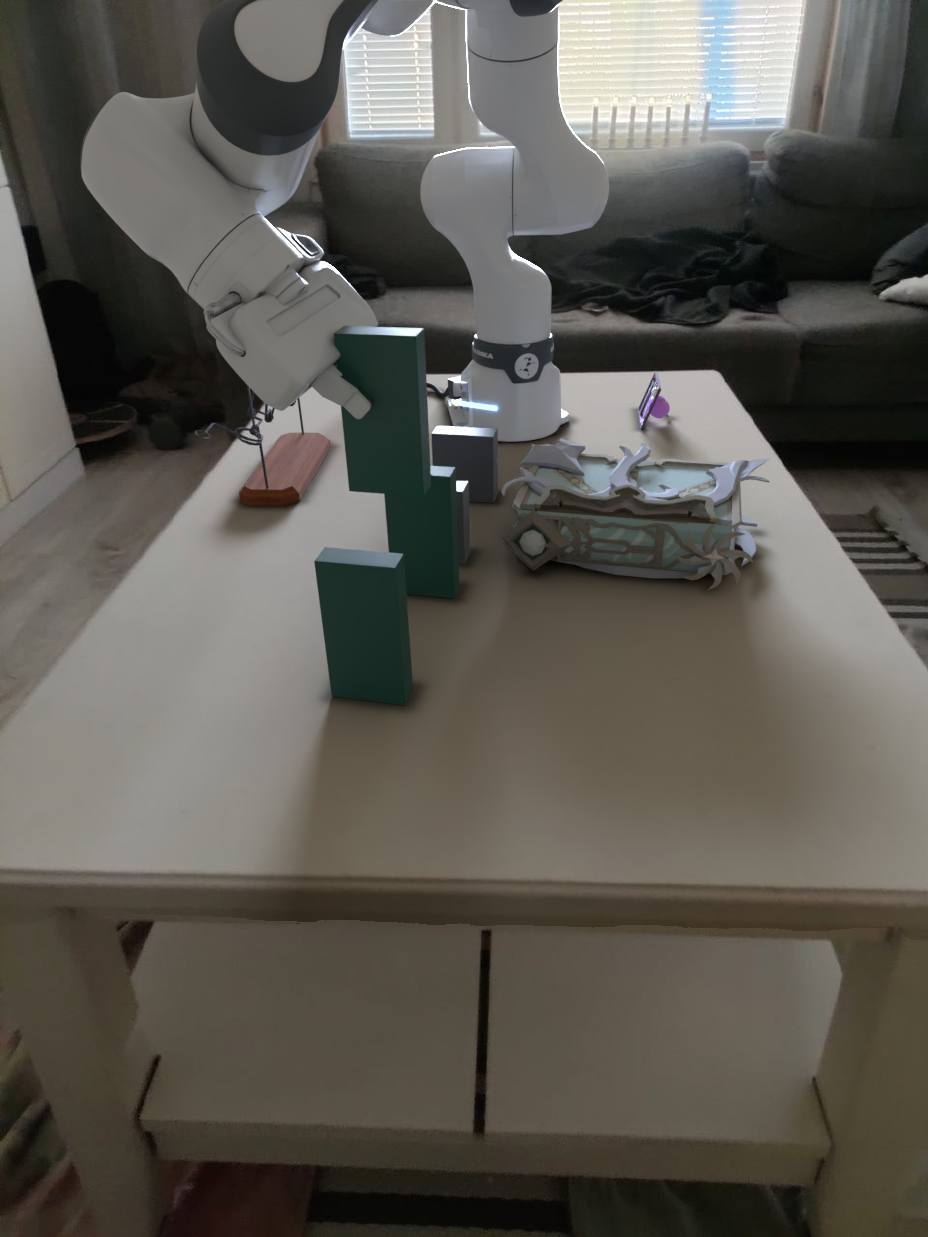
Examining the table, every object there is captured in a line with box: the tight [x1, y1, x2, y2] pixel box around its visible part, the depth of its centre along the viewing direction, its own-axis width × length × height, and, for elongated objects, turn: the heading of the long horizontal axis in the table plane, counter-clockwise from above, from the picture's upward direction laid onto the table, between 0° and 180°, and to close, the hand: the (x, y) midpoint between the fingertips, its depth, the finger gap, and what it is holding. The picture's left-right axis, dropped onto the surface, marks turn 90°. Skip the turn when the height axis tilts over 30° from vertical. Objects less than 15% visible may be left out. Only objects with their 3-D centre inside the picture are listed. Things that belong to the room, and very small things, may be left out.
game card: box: [637, 371, 671, 430], centre depth 139 cm, size 7×5×9 cm
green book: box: [334, 326, 431, 497], centre depth 76 cm, size 3×7×14 cm, turn 77°
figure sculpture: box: [194, 384, 331, 507], centre depth 117 cm, size 35×9×25 cm, turn 175°
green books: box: [313, 465, 461, 706], centre depth 85 cm, size 22×7×14 cm, turn 167°
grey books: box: [430, 425, 499, 565], centre depth 108 cm, size 20×8×9 cm, turn 167°
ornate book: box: [499, 437, 771, 591], centre depth 103 cm, size 23×10×30 cm
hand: (375, 404), depth 76 cm, fingers closed on green book, 2 cm apart
